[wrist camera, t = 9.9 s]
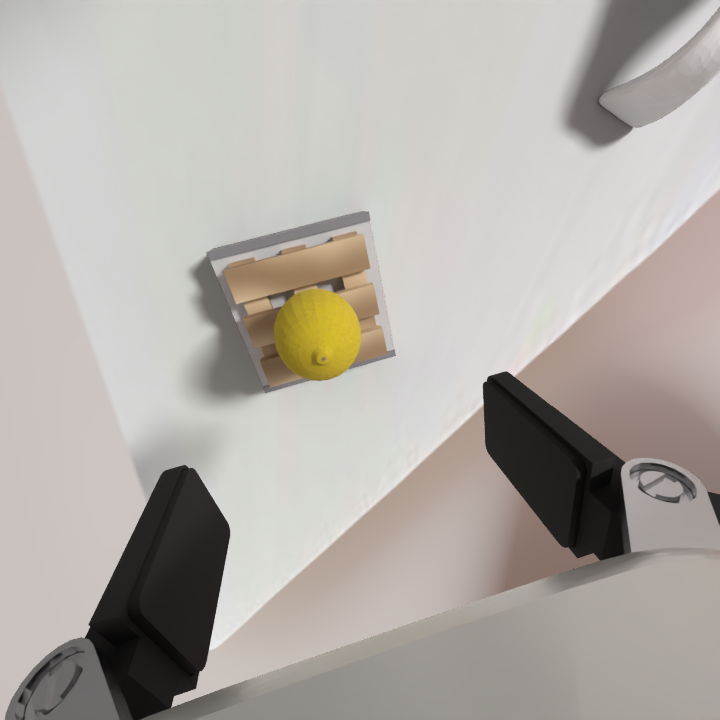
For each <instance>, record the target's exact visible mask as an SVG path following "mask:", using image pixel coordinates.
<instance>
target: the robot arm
mask: <svg viewBox="0 0 720 720" xmlns="http://www.w3.org/2000/svg"><path fill="white" fill-rule="evenodd" d="M483 399H484V422H485V444H486V449H487V451H488V453H489V454H490V456H491V457H492V459H493V460H494V461H495V463H496V464H497V465H498V466H499V468H500V469H501V470H502V471H503V473H504V474H505V475H506V477H507V478H508V479H509V480H510V482H511V483H512V484H513V485H514V487H515V488H516V489H517V491H518V492H519V493H520V494H521V496H522V497H523V498H524V499H525V501H526V502H527V503H528V505H529V506H530V507H531V508H532V510H533V511H534V512H535V513H536V515H537V516H538V517H539V519H540V520H541V521H542V522H543V524H544V525H545V526H546V527H547V529H548V530H549V531H550V533H551V534H552V535H553V536H554V538H555V539H556V540H557V541H558V543H559V544H560V545H561V546H562V547H565V548H566V547H569V548H570V550H571V551H572V552H573V553H574V554H575V556H576V557H577V558H580V557H583V556H586V555H589V554H592V553H594V554H595V555H596V556H597V557H598V559H599V560H600V561H598V562H595V563H592V564H589V565H585V566H582V567H579V568H576V569H573V570H570V571H566V572H563V573H560V574H557V575H554V576H551V577H547V578H544V579H541V580H538V581H535V582H532V583H529V584H527V585H523V586H520V587H517V588H514V589H512V590H509V591H505V592H502V593H499V594H497V595H494V596H491V597H488V598H485V599H482V600H479V601H476V602H473V603H470V604H467V605H464V606H461V607H458V608H455V609H452V610H449V611H446V612H443V613H441V614H437V615H434V616H432V617H429V618H426V619H423V620H420V621H417V622H414V623H411V624H408V625H405V626H402V627H399V628H397V629H393V630H391V631H388V632H385V633H382V634H379V635H376V636H373V637H370V638H367V639H364V640H361V641H359V642H356V643H353V644H350V645H347V646H344V647H341V648H338V649H335V650H333V651H330V652H327V653H324V654H321V655H318V656H315V657H312V658H309V659H307V660H304V661H301V662H298V663H295V664H292V665H289V666H287V667H284V668H281V669H278V670H275V671H272V672H269V673H267V674H264V675H261V676H258V677H255V678H252V679H250V680H246V681H244V682H241V683H238V684H235V685H232V686H229V687H227V688H224V689H221V690H218V691H215V692H213V693H210V694H207V695H204V696H202V697H199V698H196V699H194V700H191V701H188V702H186V703H183V704H181V705H177V706H175V707H172V708H171V706H172V702H173V698H174V696H176V695H179V694H182V693H185V692H188V691H190V690H193V689H196V685H197V681H198V675H199V671H202V670H203V669H204V667H205V665H206V661H207V656H208V651H209V646H210V640H211V635H212V630H213V624H214V619H215V614H216V608H217V603H218V597H219V592H220V587H221V581H222V576H223V571H224V565H225V560H226V555H227V549H228V544H229V539H230V528H229V524H228V522H227V521H226V519H225V518H224V516H223V514H222V513H221V511H220V509H219V508H218V506H217V505H216V503H215V501H214V500H213V498H212V496H211V495H210V493H209V492H208V490H207V488H206V487H205V485H204V483H203V482H202V480H201V479H200V477H199V475H198V474H197V472H196V471H195V469H193V468H190V469H189V468H188V467H187V466H186V465H183V466H179V467H176V468H172V469H169V470H165V471H164V472H163V473H162V474H161V476H160V478H159V480H158V482H157V484H156V486H155V488H154V490H153V492H152V494H151V497H150V499H149V501H148V503H147V505H146V507H145V509H144V511H143V513H142V515H141V517H140V519H139V521H138V523H137V526H136V528H135V530H134V532H133V534H132V536H131V538H130V540H129V542H128V544H127V546H126V548H125V551H124V552H123V554H122V556H121V559H120V561H119V563H118V565H117V567H116V569H115V571H114V573H113V575H112V577H111V579H110V582H109V584H108V585H107V588H106V590H105V592H104V594H103V596H102V598H101V600H100V602H99V604H98V606H97V608H96V610H95V612H94V614H93V616H92V618H91V621H90V623H89V626H90V629H89V631H88V633H87V635H86V637H85V638H77V639H73V640H70V641H68V642H66V643H64V644H63V645H61V646H59V647H58V648H56V649H55V650H53V651H52V652H51V653H49V654H48V655H47V656H46V657H45V658H44V659H43V660H42V661H41V662H40V663H39V664H37V665H36V667H34V668H33V670H32V671H31V672H30V673H29V675H28V676H27V677H26V678H25V679H24V681H23V682H22V683H21V685H20V686H19V688H18V690H17V691H16V693H15V695H14V696H13V698H12V700H11V702H10V704H9V707H8V709H7V712H6V716H5V720H720V494H715V493H711V492H707V491H706V489H705V487H704V486H703V484H702V482H701V481H699V480H698V479H697V478H696V477H695V476H694V475H693V474H692V473H690V472H688V471H687V470H685V469H683V468H682V467H680V466H677V465H675V464H672V463H670V462H667V461H663V460H659V459H653V458H637V459H632V460H630V461H628V462H626V463H625V462H624V461H623V460H621V459H620V458H619V457H617V456H616V455H615V454H614V453H612V452H611V451H610V450H608V449H607V448H606V447H605V446H603V445H602V444H601V443H599V442H598V441H597V440H596V439H594V438H593V437H592V436H590V435H589V434H588V433H586V432H585V431H584V430H583V429H581V428H580V427H579V426H578V425H576V424H575V423H574V422H572V421H571V420H569V419H568V418H567V417H566V416H565V415H563V414H562V413H561V412H559V411H558V410H557V409H556V408H554V407H553V406H551V405H550V404H548V403H547V402H546V401H545V400H543V399H542V398H541V397H539V396H538V395H537V394H535V393H534V392H533V391H532V390H530V389H529V388H527V387H526V386H525V385H524V384H523V383H521V382H520V381H519V380H517V379H516V378H515V377H514V376H512V375H511V374H510V373H508V372H502V373H498V374H495V375H491V376H489V377H488V378H487V382H484V384H483Z"/></svg>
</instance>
